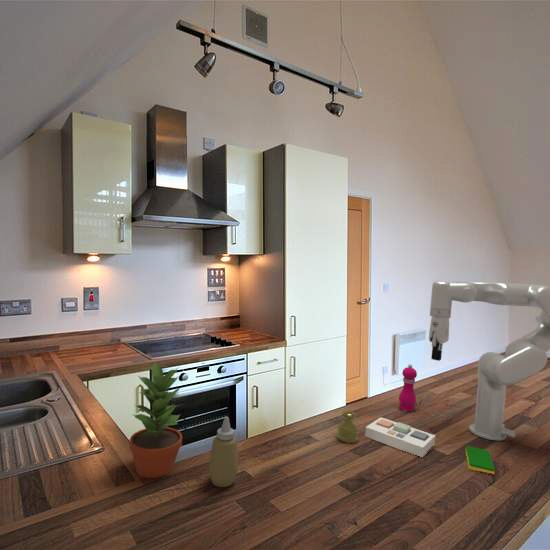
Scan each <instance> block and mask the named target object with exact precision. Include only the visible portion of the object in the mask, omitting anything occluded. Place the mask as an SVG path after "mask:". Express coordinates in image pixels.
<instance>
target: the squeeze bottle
mask: <svg viewBox="0 0 550 550" xmlns="http://www.w3.org/2000/svg"><path fill="white" fill-rule="evenodd" d="M237 439H238V438H236V437H235V430H234V429H233V428H232V427H231V423H230V417H228V416H224V418H223V422H222V425H221V427H219V428H218V429H217V431H216V436H214V438H213V439H212V445H211V450H210V451H211V452H210V458H209V463H208V473H209V477H210V480H211V483H212V484H213V486H215V487H218V488H227V487H229V486H231V485H233V483H234V480H235V478H236V475H237V473H238V470H239V463H238V461H239V460H238V459H239V457H238V440H237Z"/></svg>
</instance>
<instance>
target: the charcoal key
mask: <svg viewBox="0 0 550 550" xmlns="http://www.w3.org/2000/svg"><path fill="white" fill-rule="evenodd" d="M411 437H414V438H417V439H420V440H423V441H425V440H427V439H428V434H425V433H422V432H419V431H416V430H415V431H414V432H413V433H412V434H411Z"/></svg>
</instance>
